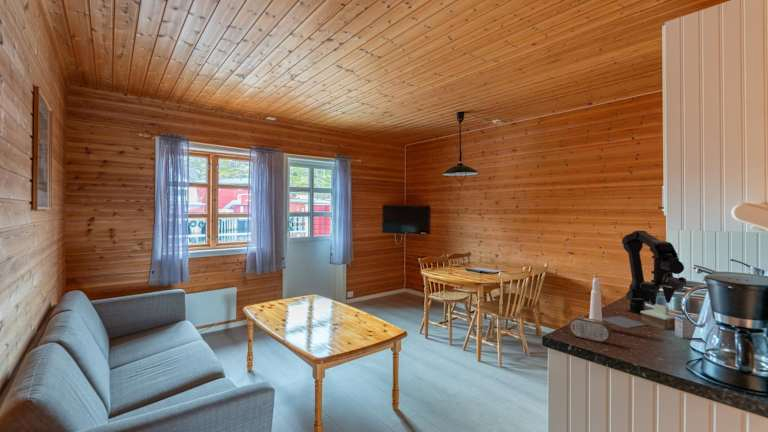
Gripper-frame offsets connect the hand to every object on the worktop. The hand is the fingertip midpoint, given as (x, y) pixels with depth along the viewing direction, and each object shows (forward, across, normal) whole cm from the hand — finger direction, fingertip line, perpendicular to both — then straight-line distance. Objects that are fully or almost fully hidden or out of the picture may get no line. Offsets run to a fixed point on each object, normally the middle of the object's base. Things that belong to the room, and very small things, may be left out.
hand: (660, 303), depth 158 cm
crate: (+10, 0, 0) cm, 10 cm away
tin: (+10, -46, -3) cm, 47 cm away
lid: (+7, 0, 0) cm, 7 cm away
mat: (+10, -13, +8) cm, 18 cm away
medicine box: (+10, -5, -14) cm, 18 cm away
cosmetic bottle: (+10, -31, +7) cm, 33 cm away
